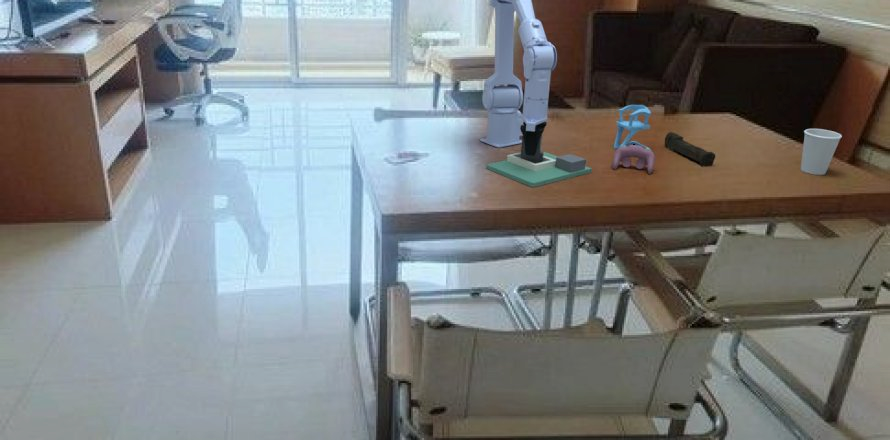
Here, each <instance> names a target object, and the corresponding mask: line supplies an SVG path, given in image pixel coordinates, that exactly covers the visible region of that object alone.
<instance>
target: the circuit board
mask: <svg viewBox="0 0 890 440" xmlns="http://www.w3.org/2000/svg"><path fill="white" fill-rule="evenodd" d="M543 152H544V155H543V162H541V163H536V164H535V163H532V162H529V161H527V160H524V159H521V158H520V157H521V151H519V152H516V153H511V154H507V157H506V160H501V161H497V162H492V163H488V164H486V165H485V166H486V168H485V169H487V170H488V171H491V172H494V173H496V174H499V175H501V176H504V177H506V178H509V179H511V180H513V181H517V182H518V183H520V184H523V185H526V186H529V187H531V188H536V187H539V186H544V185H547V184H553V183H555V182H558V181H563V180H567V179H571V178H575V177H579V176H583V175H586V174H590V173H592V170H593V169H592V167H589V166H586V163H587V159H586V158H584V157H580V156H577V155H575V154H572V153H569V154H566V155H565V154H564V155H560V156H558V155H554V154H551V153H549V152H546V151H543Z"/></svg>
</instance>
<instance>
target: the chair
mask: <svg viewBox="0 0 890 440" xmlns="http://www.w3.org/2000/svg"><path fill="white" fill-rule="evenodd" d="M628 110H632V111H633V112H632V113H629V120H624V116H623V113H624V112H625V111H628ZM618 111H619V120H616V122H615V125H616V126H617V132H616V136H615V140H614V145H613V149H616V150H617V149H618V148H619V147H621V146H627V145H633V144H635V145H638V146H642V147H645V148H648V149H650V150H651V148H650V147H648V146H646V145H643V144H641V143H640V142H638V141H636V140H633V141H632V140H631V138H633V137H634V135H635V134H637V132H640V131H643V130H650V129H651V125H649V124H648V120H649V119H650V118H649V117H650V116H651V114H652V112H651V110H650V109H649V108H648V107H647V106H645V105H644V104H630V105H629V104H628V105H626V106H624V107H622V108H620V109H618ZM639 115H644V116H646V117H645V118H644V119H643V120H644V121H643V122H642V121H640V120H639V119H638V117H639ZM633 118H634V119H633ZM624 130H626V131H628V134H626V137H625V138H624V140H623V142H622V143H620V142H621V139H622V135H623V132H624ZM630 140H631V141H630Z"/></svg>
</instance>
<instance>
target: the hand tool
mask: <svg viewBox="0 0 890 440" xmlns="http://www.w3.org/2000/svg"><path fill="white" fill-rule="evenodd" d="M664 146H665V148H666V149H668V148H669V149H668V150H670V151H671V152H673V151H675V152H676V153H679V154H681V155H684V156H686V157H688V158H689V159H691V160H693V161H694V162H696V163H698V164H699V165H700V166H701V167H710V166H712V165H713V164H714V162H715V159H716V154H715V153H714V152H713V151H707V150H705V149H704V148H702V147H699V146H696V145H694V144H692V143H690V142H688V141H686V140H685V139H684V137H683V136H682V135H680V134H677V133H675V132H672V131H669V132H668V133H666V135H665V137H664Z"/></svg>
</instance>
